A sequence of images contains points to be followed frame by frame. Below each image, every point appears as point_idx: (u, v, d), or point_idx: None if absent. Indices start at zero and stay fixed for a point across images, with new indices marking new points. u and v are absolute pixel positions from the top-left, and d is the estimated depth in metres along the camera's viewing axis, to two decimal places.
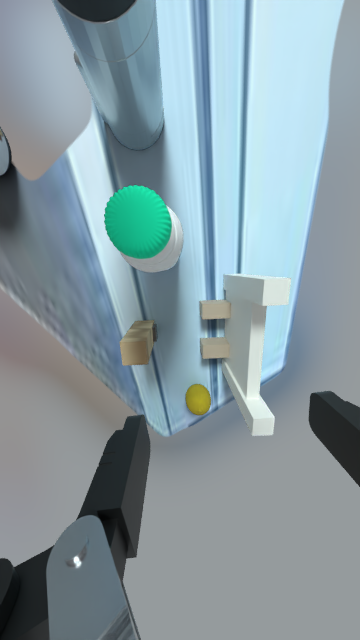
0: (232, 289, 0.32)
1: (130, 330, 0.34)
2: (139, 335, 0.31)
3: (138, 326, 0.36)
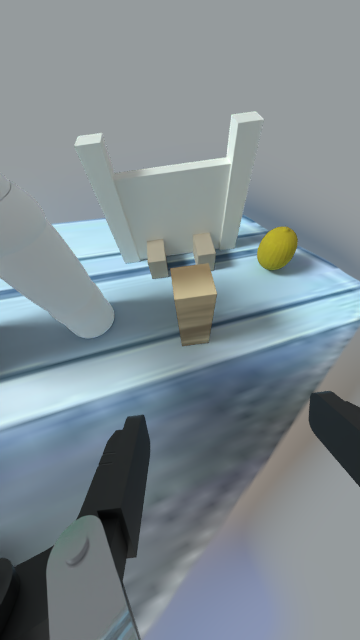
0: (126, 232, 0.31)
1: (178, 324, 0.22)
2: None
3: None
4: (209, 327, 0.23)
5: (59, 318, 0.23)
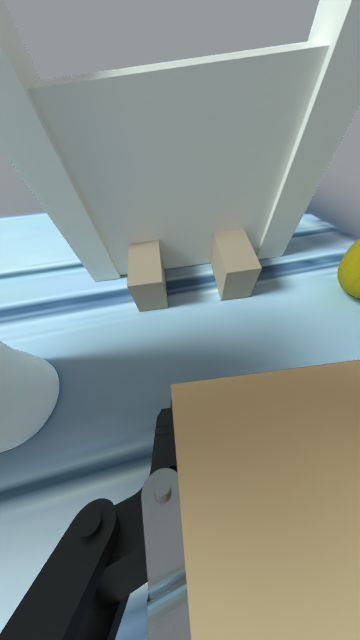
0: (86, 226, 0.16)
1: None
2: None
3: None
4: None
5: None
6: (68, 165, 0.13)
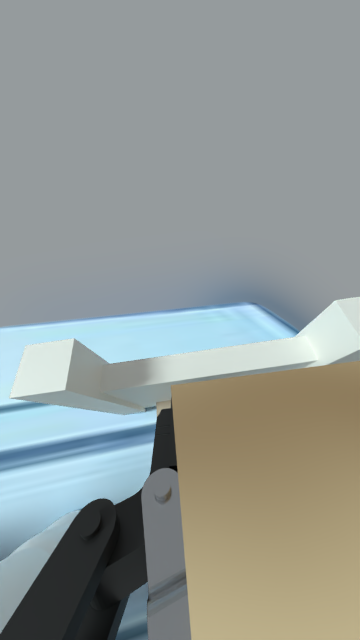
0: (125, 408, 0.20)
1: None
2: None
3: None
4: None
5: None
6: (119, 397, 0.16)
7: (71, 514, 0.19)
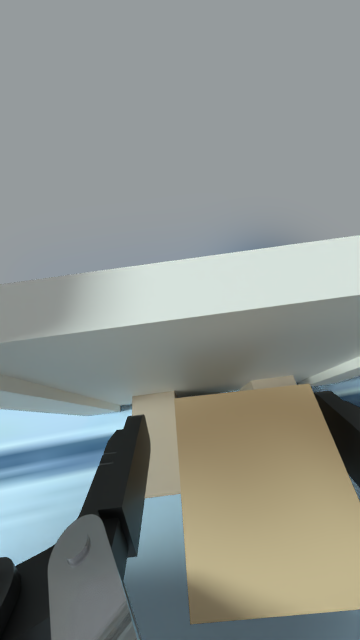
0: (70, 405, 0.11)
1: None
2: None
3: None
4: None
5: None
6: (32, 381, 0.07)
7: None
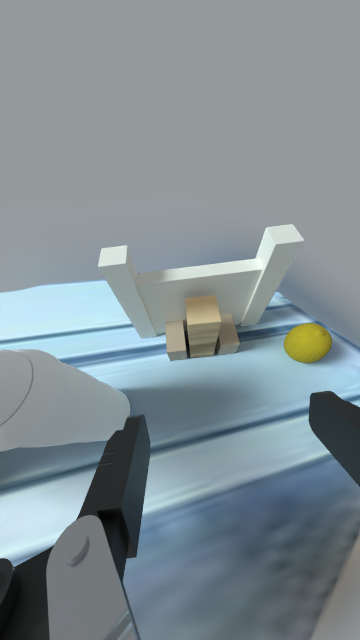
0: (145, 319, 0.30)
1: (189, 341, 0.27)
2: None
3: None
4: (214, 344, 0.28)
5: None
6: (144, 300, 0.26)
7: None
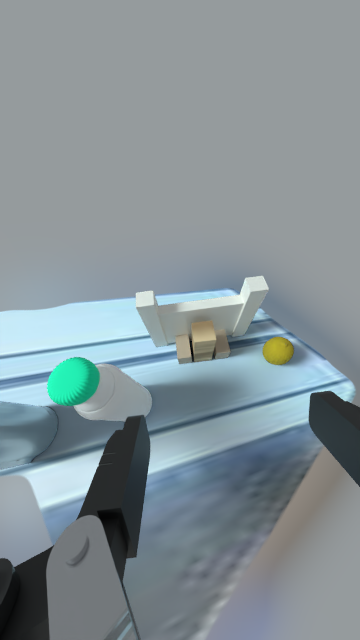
0: (161, 334, 0.40)
1: (193, 351, 0.38)
2: (192, 336, 0.37)
3: (193, 350, 0.41)
4: (212, 352, 0.39)
5: None
6: (161, 323, 0.37)
7: None
